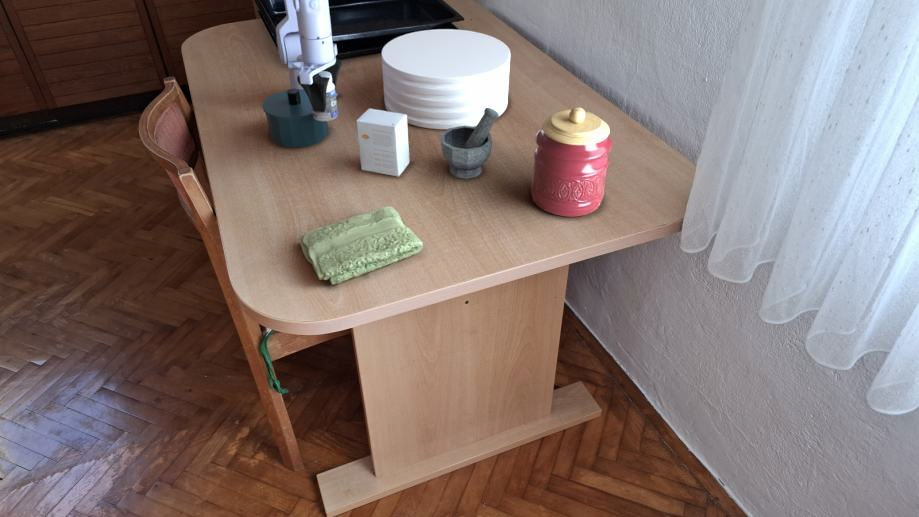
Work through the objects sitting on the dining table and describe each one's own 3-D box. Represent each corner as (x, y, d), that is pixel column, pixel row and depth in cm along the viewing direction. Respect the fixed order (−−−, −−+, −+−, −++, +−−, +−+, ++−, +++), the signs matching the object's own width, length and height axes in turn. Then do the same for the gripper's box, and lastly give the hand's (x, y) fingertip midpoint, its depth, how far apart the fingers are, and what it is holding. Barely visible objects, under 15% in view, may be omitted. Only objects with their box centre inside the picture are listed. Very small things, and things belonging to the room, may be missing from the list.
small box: (410, 163, 128) (408, 113, 121) (398, 177, 124) (396, 127, 117) (372, 156, 130) (368, 107, 123) (360, 170, 126) (355, 120, 119)
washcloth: (294, 244, 107) (292, 228, 105) (393, 215, 114) (392, 200, 112) (322, 291, 98) (320, 275, 96) (427, 256, 105) (427, 240, 103)
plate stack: (482, 70, 164) (484, 23, 156) (526, 119, 143) (530, 68, 136) (372, 83, 156) (369, 36, 149) (402, 137, 136) (399, 85, 129)
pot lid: (279, 91, 139) (276, 75, 137) (336, 97, 137) (334, 81, 135) (252, 118, 129) (248, 101, 127) (313, 125, 127) (311, 108, 125)
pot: (284, 118, 142) (279, 90, 138) (336, 124, 140) (333, 95, 136) (260, 144, 133) (255, 114, 129) (315, 150, 131) (311, 121, 127)
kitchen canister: (584, 227, 112) (599, 134, 101) (517, 204, 117) (524, 113, 106) (613, 192, 120) (629, 103, 109) (549, 172, 126) (559, 85, 115)
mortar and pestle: (450, 187, 121) (451, 128, 114) (433, 163, 128) (432, 106, 120) (505, 175, 125) (509, 117, 117) (485, 152, 131) (488, 96, 124)
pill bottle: (338, 121, 125) (333, 79, 120) (313, 122, 125) (307, 80, 119) (337, 110, 129) (333, 69, 124) (313, 111, 128) (307, 70, 123)
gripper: (308, 18, 123) (317, 87, 131) (278, 47, 112) (290, 119, 120) (344, 21, 122) (351, 90, 130) (318, 50, 111) (327, 123, 119)
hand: (324, 104), depth 125 cm, fingers closed on pill bottle, 5 cm apart
